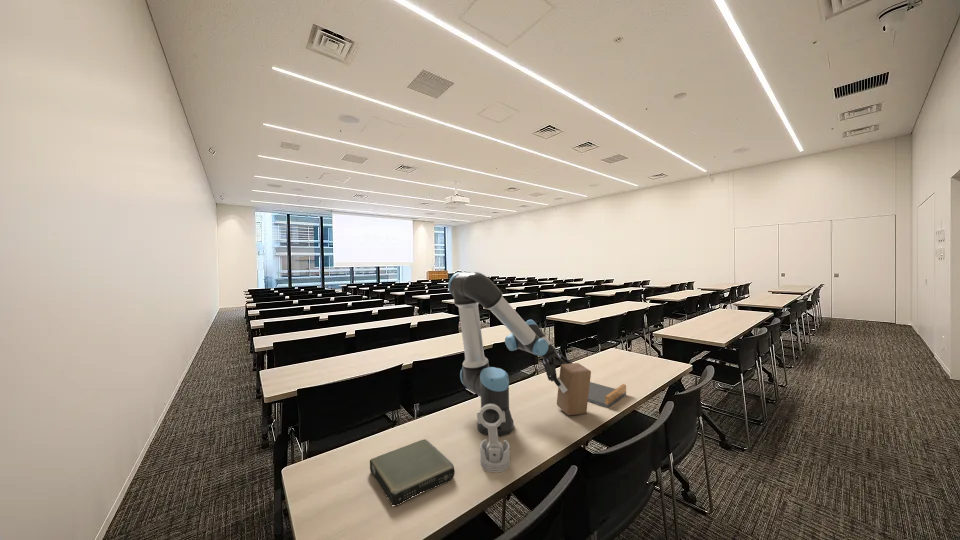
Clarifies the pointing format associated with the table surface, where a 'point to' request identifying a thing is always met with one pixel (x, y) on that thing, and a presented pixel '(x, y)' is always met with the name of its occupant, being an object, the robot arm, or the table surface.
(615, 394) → the mounting plate
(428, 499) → the table surface
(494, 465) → the engine component
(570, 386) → the wooden block
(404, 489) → the network switch
